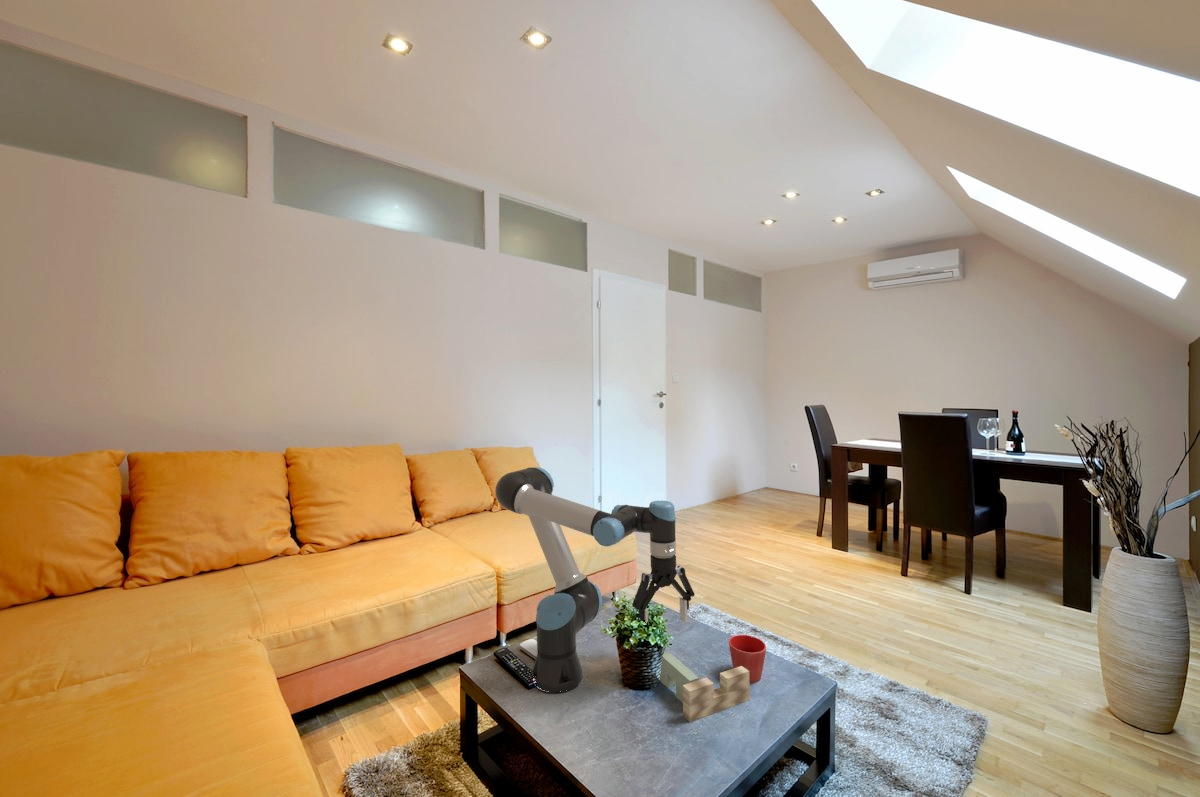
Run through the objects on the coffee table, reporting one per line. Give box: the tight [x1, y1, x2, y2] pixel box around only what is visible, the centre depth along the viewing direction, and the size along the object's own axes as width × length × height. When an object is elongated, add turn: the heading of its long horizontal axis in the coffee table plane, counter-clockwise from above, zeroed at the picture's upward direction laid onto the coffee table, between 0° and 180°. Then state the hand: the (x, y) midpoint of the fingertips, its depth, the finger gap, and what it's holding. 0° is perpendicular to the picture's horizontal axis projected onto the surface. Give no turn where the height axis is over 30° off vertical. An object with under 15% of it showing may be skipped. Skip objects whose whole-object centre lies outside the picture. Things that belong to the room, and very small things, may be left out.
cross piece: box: [659, 648, 700, 704], centre depth 138 cm, size 18×3×8 cm, turn 25°
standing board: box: [682, 666, 751, 723], centre depth 130 cm, size 20×3×8 cm, turn 115°
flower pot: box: [728, 634, 767, 683], centre depth 145 cm, size 11×11×10 cm
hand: (664, 625), depth 143 cm, fingers open, 13 cm apart
